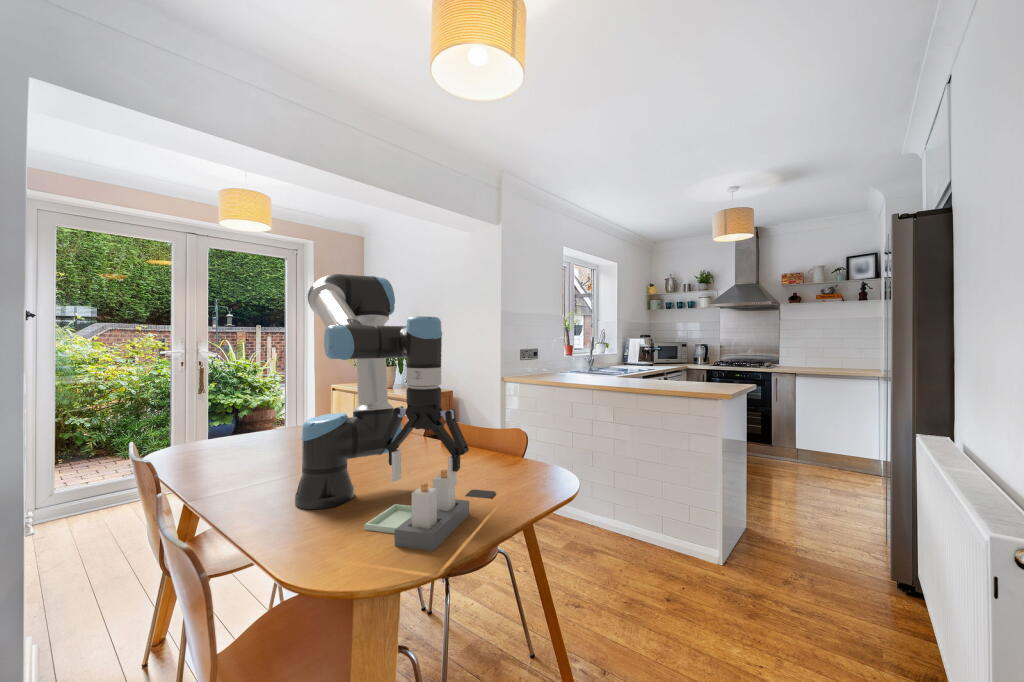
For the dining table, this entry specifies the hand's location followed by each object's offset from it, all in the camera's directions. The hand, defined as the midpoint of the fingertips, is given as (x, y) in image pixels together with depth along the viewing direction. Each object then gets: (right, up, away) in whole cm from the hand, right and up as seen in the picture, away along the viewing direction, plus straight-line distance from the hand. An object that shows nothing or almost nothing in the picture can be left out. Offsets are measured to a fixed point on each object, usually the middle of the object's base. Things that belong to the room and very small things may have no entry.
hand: (423, 482), depth 97 cm
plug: (0, -12, -1) cm, 12 cm away
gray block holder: (+2, -13, +4) cm, 13 cm away
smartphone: (+9, -13, +23) cm, 28 cm away
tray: (-8, -13, +9) cm, 18 cm away
